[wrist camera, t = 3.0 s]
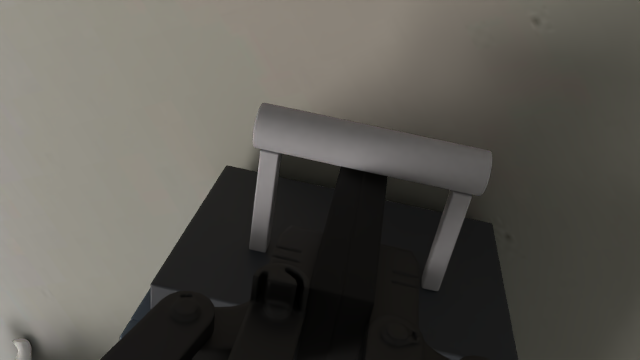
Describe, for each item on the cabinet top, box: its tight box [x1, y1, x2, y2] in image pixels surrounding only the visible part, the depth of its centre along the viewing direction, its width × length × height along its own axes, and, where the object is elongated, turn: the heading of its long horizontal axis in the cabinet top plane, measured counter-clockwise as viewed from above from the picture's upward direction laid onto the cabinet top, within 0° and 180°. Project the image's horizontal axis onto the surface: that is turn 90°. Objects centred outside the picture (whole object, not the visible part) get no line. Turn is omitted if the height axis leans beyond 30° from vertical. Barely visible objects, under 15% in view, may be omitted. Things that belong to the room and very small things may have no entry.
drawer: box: [151, 103, 518, 360], centre depth 22 cm, size 19×11×8 cm, turn 171°
